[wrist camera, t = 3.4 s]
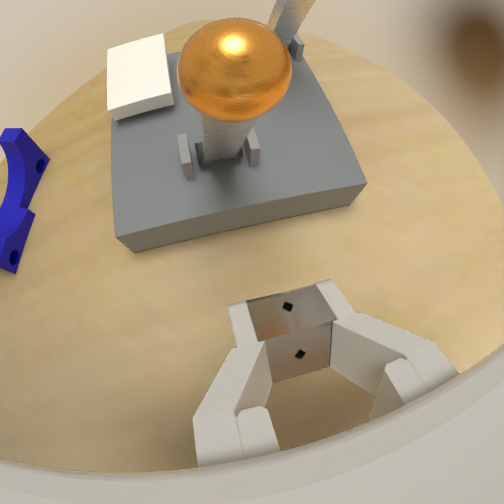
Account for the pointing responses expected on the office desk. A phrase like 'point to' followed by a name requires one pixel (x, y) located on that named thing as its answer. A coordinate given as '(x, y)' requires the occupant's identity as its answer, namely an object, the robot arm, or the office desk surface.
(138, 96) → the white rectangular block
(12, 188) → the cable clip
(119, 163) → the panel
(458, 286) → the office desk surface
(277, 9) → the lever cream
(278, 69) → the lever orange
